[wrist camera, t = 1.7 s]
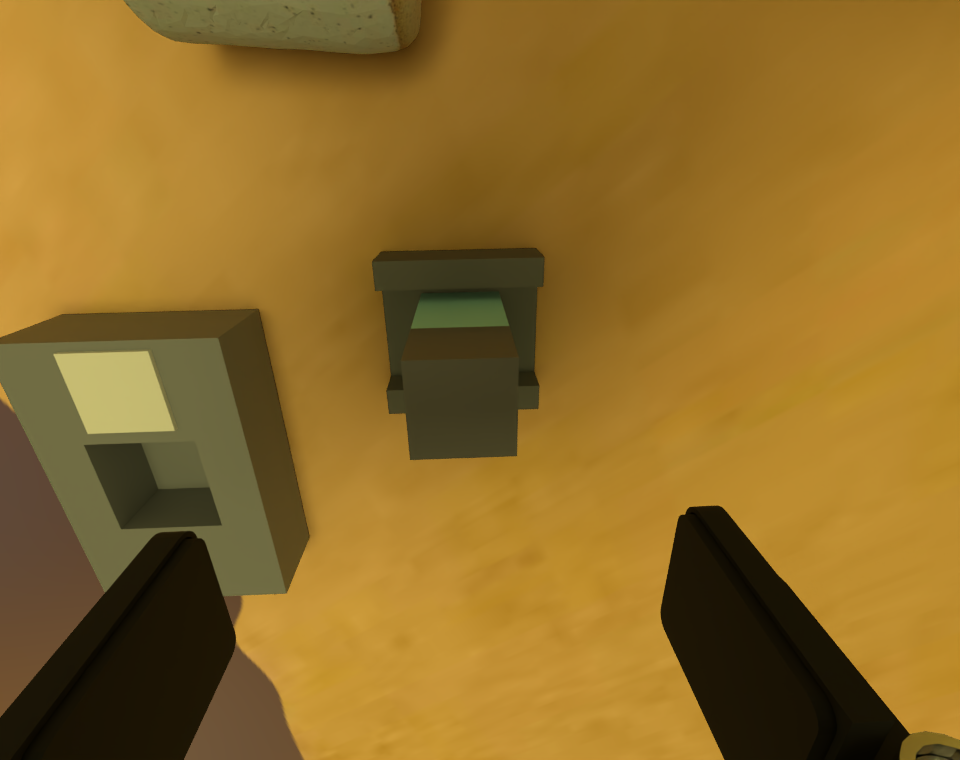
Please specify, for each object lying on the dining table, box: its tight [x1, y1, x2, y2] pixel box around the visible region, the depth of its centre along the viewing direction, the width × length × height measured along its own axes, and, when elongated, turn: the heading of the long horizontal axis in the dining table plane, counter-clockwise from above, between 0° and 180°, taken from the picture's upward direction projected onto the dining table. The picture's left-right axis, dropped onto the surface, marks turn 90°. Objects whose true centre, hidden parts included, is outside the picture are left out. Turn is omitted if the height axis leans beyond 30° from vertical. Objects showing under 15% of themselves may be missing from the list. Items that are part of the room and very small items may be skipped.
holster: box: [372, 248, 544, 414], centre depth 21 cm, size 7×7×2 cm
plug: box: [401, 291, 519, 460], centre depth 18 cm, size 4×4×8 cm
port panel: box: [0, 309, 309, 596], centre depth 23 cm, size 14×9×4 cm, turn 1°
